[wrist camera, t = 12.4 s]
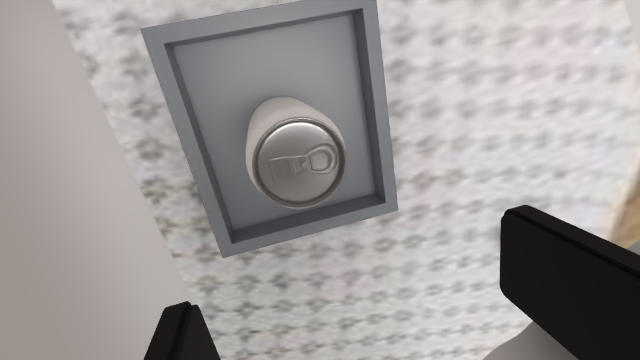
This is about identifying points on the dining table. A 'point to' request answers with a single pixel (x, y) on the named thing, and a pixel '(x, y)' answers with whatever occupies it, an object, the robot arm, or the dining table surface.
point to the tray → (269, 82)
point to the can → (294, 153)
